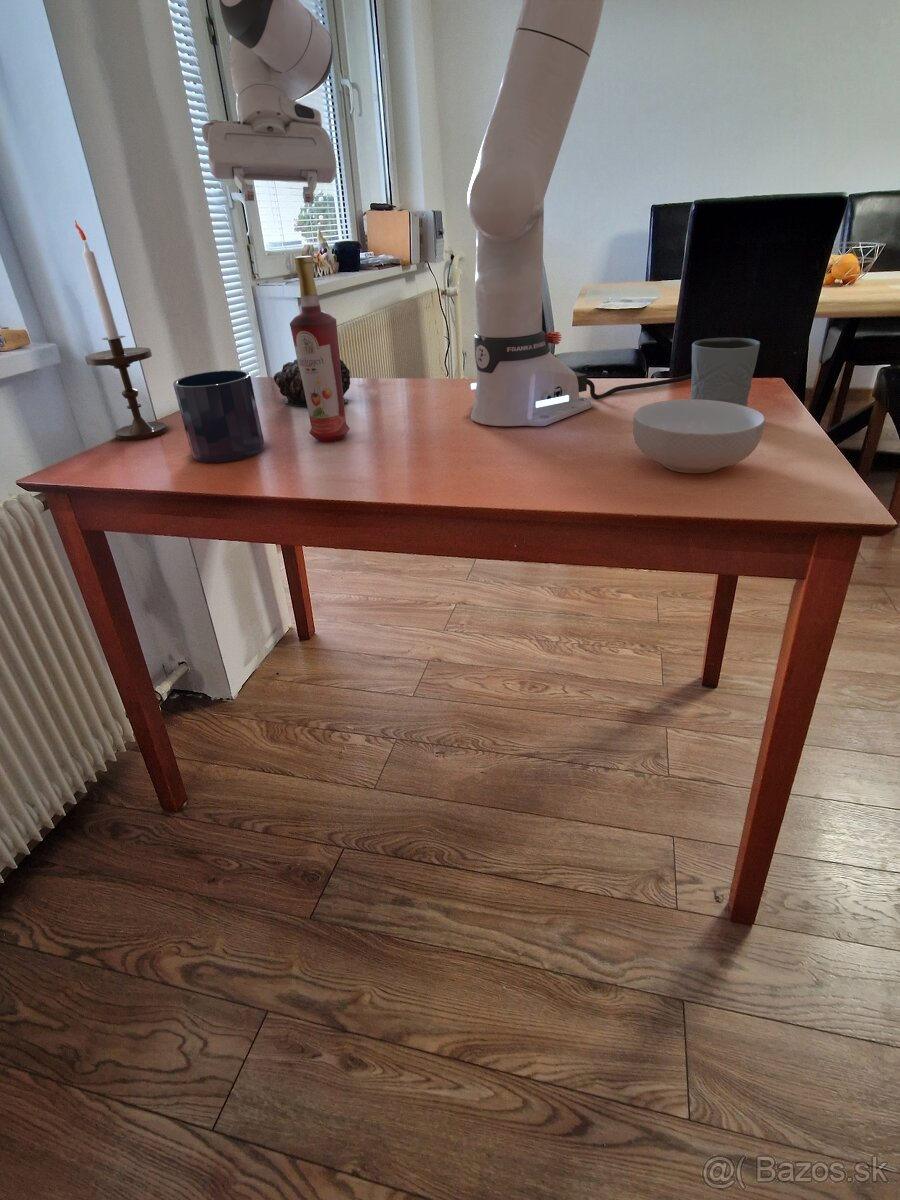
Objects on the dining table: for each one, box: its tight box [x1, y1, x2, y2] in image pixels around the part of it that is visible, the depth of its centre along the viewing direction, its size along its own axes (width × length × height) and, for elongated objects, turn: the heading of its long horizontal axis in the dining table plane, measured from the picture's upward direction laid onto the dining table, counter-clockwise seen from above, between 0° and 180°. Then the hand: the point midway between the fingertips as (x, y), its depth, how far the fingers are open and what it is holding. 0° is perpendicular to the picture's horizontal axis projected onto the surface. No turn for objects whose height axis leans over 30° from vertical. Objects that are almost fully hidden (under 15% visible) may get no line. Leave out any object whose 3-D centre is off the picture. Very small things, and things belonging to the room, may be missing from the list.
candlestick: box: [74, 219, 168, 442], centre depth 117 cm, size 11×11×35 cm
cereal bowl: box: [632, 398, 766, 474], centre depth 91 cm, size 17×17×7 cm
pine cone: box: [273, 358, 351, 407], centre depth 135 cm, size 10×18×10 cm, turn 68°
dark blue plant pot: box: [172, 369, 266, 464], centre depth 109 cm, size 12×12×12 cm
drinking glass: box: [690, 337, 761, 407], centre depth 109 cm, size 10×10×12 cm
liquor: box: [289, 255, 351, 443], centre depth 108 cm, size 7×7×28 cm
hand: (279, 199), depth 108 cm, fingers open, 8 cm apart
